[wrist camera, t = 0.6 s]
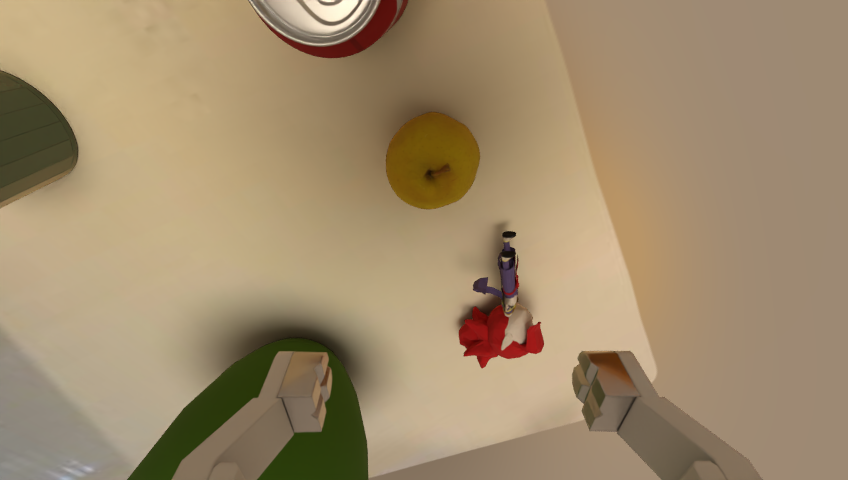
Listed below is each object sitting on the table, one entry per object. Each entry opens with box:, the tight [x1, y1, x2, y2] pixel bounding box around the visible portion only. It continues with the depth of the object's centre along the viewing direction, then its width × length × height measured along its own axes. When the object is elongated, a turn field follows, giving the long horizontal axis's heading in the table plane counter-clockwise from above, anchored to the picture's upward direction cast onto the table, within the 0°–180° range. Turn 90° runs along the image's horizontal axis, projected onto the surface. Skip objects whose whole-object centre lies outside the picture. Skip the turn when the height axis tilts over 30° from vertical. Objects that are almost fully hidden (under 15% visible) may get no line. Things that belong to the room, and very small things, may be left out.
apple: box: [386, 112, 480, 209], centre depth 25 cm, size 6×6×8 cm
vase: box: [127, 338, 368, 480], centre depth 33 cm, size 20×20×24 cm
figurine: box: [459, 231, 544, 368], centre depth 35 cm, size 6×8×15 cm
